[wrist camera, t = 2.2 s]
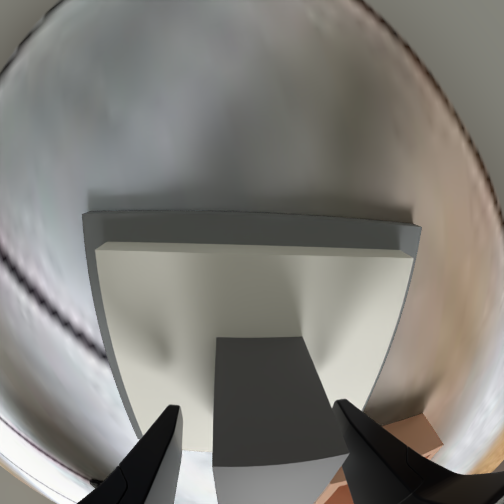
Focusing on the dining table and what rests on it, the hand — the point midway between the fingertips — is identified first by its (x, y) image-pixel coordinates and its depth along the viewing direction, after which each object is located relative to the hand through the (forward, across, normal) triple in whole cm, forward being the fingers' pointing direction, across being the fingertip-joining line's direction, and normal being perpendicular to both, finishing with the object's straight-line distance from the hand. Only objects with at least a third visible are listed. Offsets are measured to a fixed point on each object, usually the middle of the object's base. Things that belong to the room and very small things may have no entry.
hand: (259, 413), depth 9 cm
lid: (+2, 0, 0) cm, 2 cm away
